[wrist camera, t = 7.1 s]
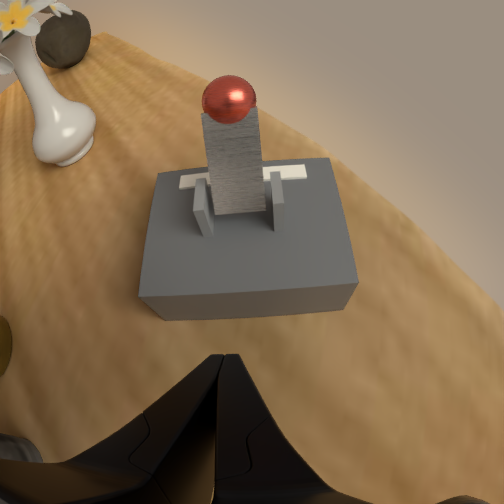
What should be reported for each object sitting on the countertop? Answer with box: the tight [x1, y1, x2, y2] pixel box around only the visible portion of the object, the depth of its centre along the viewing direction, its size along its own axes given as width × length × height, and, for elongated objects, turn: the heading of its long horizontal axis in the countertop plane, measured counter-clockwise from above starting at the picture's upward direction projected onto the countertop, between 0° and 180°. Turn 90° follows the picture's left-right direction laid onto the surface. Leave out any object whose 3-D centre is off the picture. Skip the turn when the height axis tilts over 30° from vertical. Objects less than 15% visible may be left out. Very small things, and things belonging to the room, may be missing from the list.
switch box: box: [138, 158, 359, 321], centre depth 21 cm, size 10×13×8 cm
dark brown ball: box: [35, 10, 91, 69], centre depth 47 cm, size 14×14×15 cm
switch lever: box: [201, 75, 266, 215], centre depth 17 cm, size 3×3×8 cm
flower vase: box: [0, 0, 96, 167], centre depth 23 cm, size 13×18×25 cm
